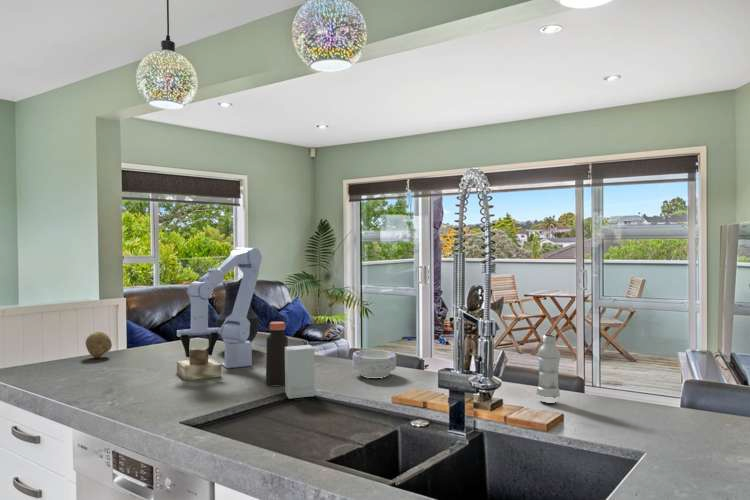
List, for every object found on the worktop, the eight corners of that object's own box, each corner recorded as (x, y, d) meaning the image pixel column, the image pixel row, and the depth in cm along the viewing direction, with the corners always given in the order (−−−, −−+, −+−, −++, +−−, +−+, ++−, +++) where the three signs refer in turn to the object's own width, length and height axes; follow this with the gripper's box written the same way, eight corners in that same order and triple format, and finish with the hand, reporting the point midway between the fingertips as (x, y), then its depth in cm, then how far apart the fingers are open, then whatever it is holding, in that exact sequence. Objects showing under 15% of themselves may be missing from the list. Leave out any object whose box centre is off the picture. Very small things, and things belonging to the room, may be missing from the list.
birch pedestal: (211, 369, 204) (211, 357, 204) (221, 376, 194) (221, 364, 194) (176, 372, 198) (177, 361, 198) (184, 380, 188) (184, 368, 188)
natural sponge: (104, 354, 226) (104, 329, 226) (116, 357, 221) (116, 331, 221) (81, 358, 219) (81, 332, 219) (93, 361, 214) (93, 334, 213)
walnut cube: (208, 361, 198) (208, 347, 198) (204, 364, 193) (204, 350, 193) (193, 361, 198) (193, 347, 198) (189, 364, 193) (189, 349, 193)
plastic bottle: (548, 407, 165) (549, 338, 164) (531, 401, 171) (533, 334, 170) (564, 404, 168) (566, 336, 167) (547, 398, 174) (549, 333, 173)
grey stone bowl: (402, 379, 194) (403, 356, 194) (360, 382, 189) (360, 358, 189) (386, 369, 208) (386, 348, 208) (346, 372, 203) (347, 350, 203)
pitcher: (208, 353, 232) (209, 279, 232) (229, 343, 253) (230, 276, 252) (249, 355, 230) (250, 280, 229) (267, 345, 250) (268, 277, 249)
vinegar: (261, 383, 185) (262, 322, 185) (278, 380, 190) (279, 320, 190) (274, 387, 181) (275, 324, 180) (291, 384, 186) (292, 322, 185)
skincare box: (310, 391, 177) (311, 344, 176) (315, 397, 171) (316, 347, 171) (283, 394, 174) (284, 345, 173) (287, 399, 168) (288, 349, 168)
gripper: (217, 313, 203) (216, 351, 203) (175, 316, 195) (174, 355, 196) (223, 316, 197) (222, 355, 197) (179, 318, 189) (179, 359, 190)
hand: (198, 355), depth 196 cm, fingers open, 7 cm apart
